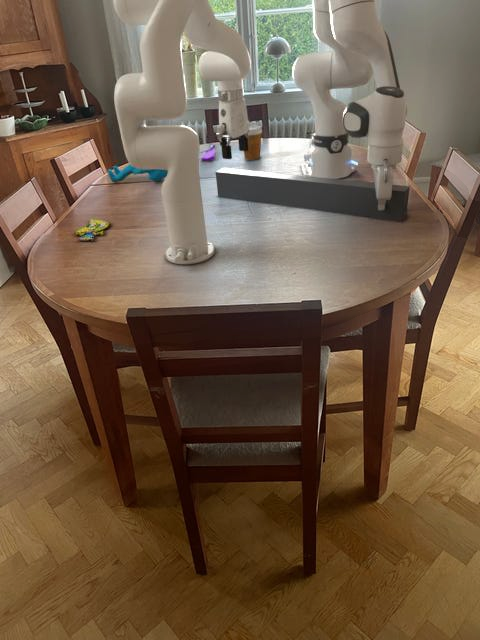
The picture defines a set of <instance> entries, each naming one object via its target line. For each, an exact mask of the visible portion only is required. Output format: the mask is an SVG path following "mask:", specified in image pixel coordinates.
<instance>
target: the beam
mask: <svg viewBox="0 0 480 640" xmlns="http://www.w3.org/2000/svg"><path fill="white" fill-rule="evenodd" d="M215 180H216V190H217V197H218V198H224V199H232V200H238V201H245V202H246V201H247V202H254V203H262V204H267V205H274V206H282V207H291V208H296V209H297V208H299V209H305V210H313V211H320V212H329V213H334V214H342V215H349V216H350V215H351V216H357V217H365V218H371V219H380V220H387V221H394V222H403V221H404V220H405V218H406V217H407V216H408V215H407V214H408V207H409V200H410V199H409V198H410V189H411V186H409V185H401V184H392V195H391V199H390V200H386V203H385V209H384V210H378V200H377V196H376V189H375V183H374V182H370V181H361V180H360V181H358V180H349V179H342V178H339V179H331V178H321V177H310V176H304V175H301V174H300V175H299V174H290V173H278V172H270V171H258V170H247V169H240V168H239V169H238V168H229V167H222V168H220V169H218V170H215Z"/></svg>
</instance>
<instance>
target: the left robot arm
mask: <svg viewBox="0 0 480 640" xmlns="http://www.w3.org/2000/svg"><path fill="white" fill-rule="evenodd" d="M112 4H113V7H114V10H115V13H116V15H117V16H118V18H119V19H120V20H121V21H122V22H123V23H124V24H125V25H127V26H130V27H131V26H132V27H135V26H136V27H137V26H145V27H144V29H143V32H142V34H141V38H140V41H139V54H140V58H141V59H140V60H141V68H142V72H133V73H126V74H124V75H121V76H120V77H119V78H118V79H117V81H116V83H115V85H114V92H113V101H114V108H115V109H114V110H115V114H116V118H117V123H118V129H119V133H120V137H121V138H120V139H121V142H122V147H123V151H124V155H125V158H126V161H127V162H128V163H129V164H131V165H132V166H133V167H135V168H138V169H162V170H167V171H168V174H167V176H166V177H164V180H163V182H162V184H161V188H160V193H161V199H162V204H163V210H164V216H165V222H166V223H165V224H166V228H167V234H168V240H169V247H168V248H167V250H166V251H165V257H166V260H167V261H169V262H170V263H173V264H176V265H193V264H199V263H203V262H205V261H207V260H208V259H210V258H211V257H213V255H214V254H215V246H214V244H212V243H210V242H209V241H208V236H207V228H206V221H205V214H204V213H205V212H204V203H203V197H202V188H201V178H200V153H201V152H200V151H201V148H200V139H199V136H198V134H197V132H196V131H195V130H194V129H192V128H191V127H190V126H189V127H188V126H185V125H180V124H179V125H178V124H170V125H169V124H165V125H164V124H163V125H146V121H166V120H168V121H169V120H177V119H179V118H182V117H183V116H184V115H185V114H186V112H187V107H188V98H187V97H188V96H187V86H186V79H185V78H186V77H185V72H184V65H183V54H182V40H183V36H185V38H186V40H187V42H188V43H189V44H191V45H192V46H194V47H196V48H200V49H201V50H205V52H204V53H202V54H201V56H200V57H199V59H198V63H197V69H198V73H199V75H200V77H201V79H203V80H204V81H206V82H216V84H217V85H216V86H217V94H218V95H217V96H218V126H219V128H218V130H217V131H216V133H215V135H216V138H217V141H218V143H219V146H220V147H221V156H222V159H223V160H232V159H233V154H232V145H230V144H231V141H232V139H236V138H238V150H239V151H240V152H244V151H248V132H249V125H251V123H250V120H249V117H248V108H247V104H246V99H245V97H244V83H243V82H244V81H243V80H245V79H247V78H248V77H249V75H250V73H251V68H252V61H251V56H250V53H249V50H248V47H247V45H246V43H245V40H244V39H243V37H242V35H241V34H240V33H239V32H238V31H236V30H235V29H234V28H233V27H231V26H230V25H228V24H227V23H225V22H224V21H221V20H220V19H218V18H216V16H215V13H214V11H213V8H212V6H211V5H210V2H209V0H112Z"/></svg>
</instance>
